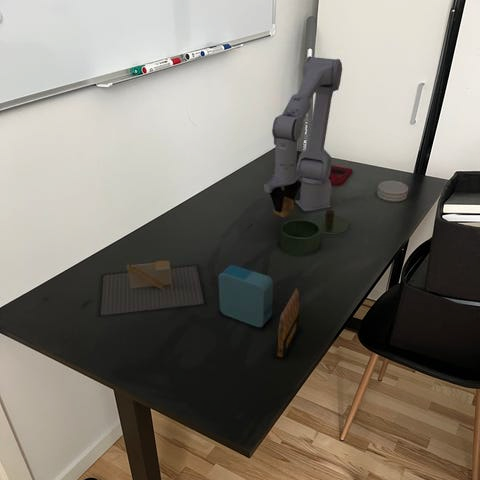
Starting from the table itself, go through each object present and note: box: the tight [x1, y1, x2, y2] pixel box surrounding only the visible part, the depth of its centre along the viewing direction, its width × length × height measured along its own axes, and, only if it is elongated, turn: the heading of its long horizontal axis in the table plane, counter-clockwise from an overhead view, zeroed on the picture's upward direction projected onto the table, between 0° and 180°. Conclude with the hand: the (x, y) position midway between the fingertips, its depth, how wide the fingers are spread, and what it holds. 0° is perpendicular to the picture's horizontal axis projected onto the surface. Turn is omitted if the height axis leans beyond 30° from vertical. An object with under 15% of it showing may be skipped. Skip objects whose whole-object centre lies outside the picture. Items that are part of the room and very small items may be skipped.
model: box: [126, 260, 174, 291], centre depth 127 cm, size 3×11×8 cm, turn 100°
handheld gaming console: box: [328, 164, 353, 187], centre depth 183 cm, size 10×1×15 cm
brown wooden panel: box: [275, 287, 300, 359], centre depth 109 cm, size 11×2×12 cm, turn 157°
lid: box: [309, 209, 350, 236], centre depth 153 cm, size 12×12×5 cm
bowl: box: [279, 218, 322, 255], centre depth 144 cm, size 11×11×5 cm
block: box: [272, 197, 295, 218], centre depth 143 cm, size 4×4×4 cm
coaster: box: [376, 180, 409, 203], centre depth 170 cm, size 10×10×4 cm
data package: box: [218, 264, 274, 328], centre depth 116 cm, size 12×4×12 cm, turn 59°
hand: (283, 208), depth 144 cm, fingers closed on block, 4 cm apart
